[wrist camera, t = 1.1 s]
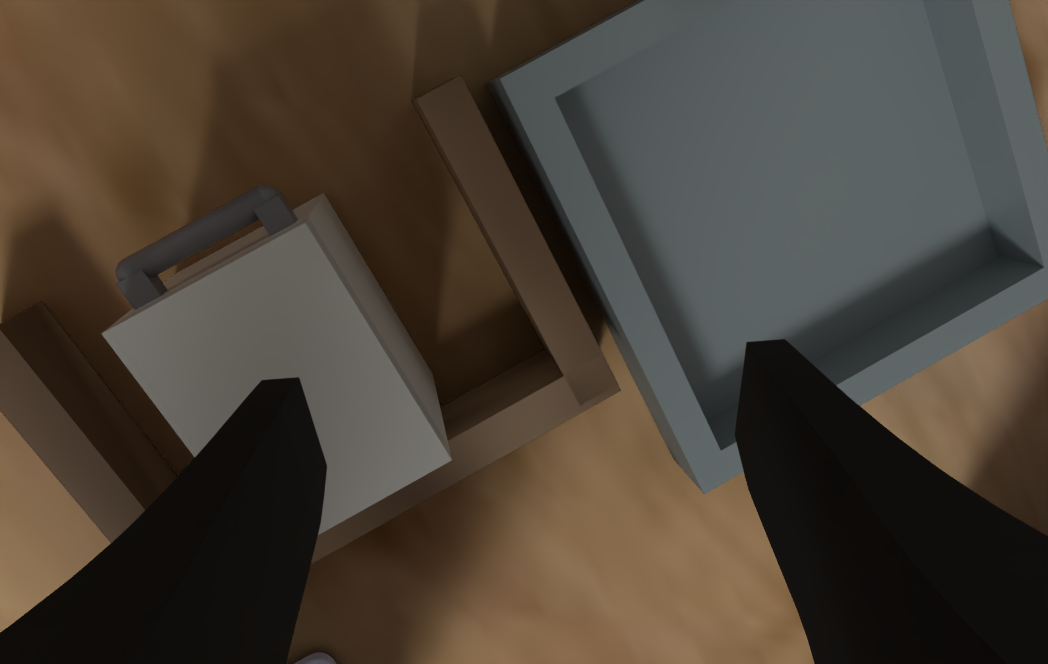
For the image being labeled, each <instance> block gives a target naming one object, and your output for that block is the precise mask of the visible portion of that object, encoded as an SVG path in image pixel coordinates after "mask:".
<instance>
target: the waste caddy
mask: <svg viewBox="0 0 1048 664" xmlns="http://www.w3.org/2000/svg"><path fill="white" fill-rule="evenodd" d="M257 220H260V221H261V223H262V224H263V226H262V227H260V228H258V229H256V230H254V231H253V232H251V233H249V234H247V235H245V236H243V237H242V238H240V239H238V240H236V241H234V242H232V243H231V244H229V245H227V246H225V247H223V248H221V249H220V250H218V251H216V252H214V253H212V254H210V255H209V256H207V257H205V258H203V259H201V260H199V261H198V262H196V263H194V264H192V265H190V266H188V267H186V268H185V269H183V270H181V271H179V272H177V273H175V274H174V275H173V276H172V277H170V278H169V279H168V280H167V281H166V282H164V283H163V282H162V281H161V280H160V278H159V277H158V274H160V273H161V272H163V271H165V270H167V269H169V268H171V267H172V266H174V265H176V264H178V263H180V262H182V261H183V260H185V259H187V258H189V257H191V256H193V255H194V254H196V253H198V252H200V251H202V250H204V249H205V248H207V247H209V246H211V245H213V244H215V243H217V242H218V241H220V240H222V239H224V238H226V237H228V236H229V235H231V234H233V233H235V232H237V231H239V230H240V229H242V228H244V227H246V226H248V225H250V224H251V223H253V222H255V221H257ZM116 276H117V278H118V280H119V282H118V283H116V284H117V286H118V287H119V289H120V290H121V291H122V293H123V294H124V295H125V297H126V298H127V300H128V301H129V302H130V304H131V305H132V306H133V308H132V309H131V310H130V311H129V312H127V313H126V314H125V315H124V316H122V317H121V318H120V319H119V320H118V321H116V322H115V323H114V324H113V325H111V326H110V327H109V328H108V329H106V330H105V331H104V332H103V333H102V335H103V337H104V338H105V339H106V341H107V342H108V343H109V345H110V346H111V347H112V349H113V350H114V351H115V353H116V354H117V355H118V357H119V358H120V359H121V361H122V362H123V363H124V365H125V366H126V367H127V368H128V370H129V371H130V372H131V374H132V375H133V376H134V378H135V379H136V380H137V382H138V383H139V384H140V386H141V387H142V388H143V390H144V391H145V392H146V394H147V395H148V396H149V398H150V399H151V400H152V402H153V403H154V404H155V406H156V407H157V408H158V410H159V411H160V412H161V414H162V415H163V416H164V418H165V419H166V420H167V422H168V423H169V424H170V426H171V427H172V428H173V429H174V431H175V432H176V433H177V435H178V436H179V437H180V439H181V440H182V441H183V443H184V444H185V445H186V447H187V448H188V449H189V451H190V452H191V453H192V455H193V456H194V457H196V456H197V454H198V453H199V452H200V451H201V450H202V449H203V448H204V447H205V445H206V444H207V443H208V442H209V441H210V440H211V439H212V437H213V436H214V435H215V434H216V433H217V431H218V430H219V429H220V428H221V427H222V426H223V424H224V423H225V422H226V421H227V420H228V419H229V417H230V416H231V415H232V414H233V413H234V411H235V410H236V409H237V408H238V407H239V406H240V404H241V403H242V402H243V401H244V400H245V399H246V397H247V396H248V395H249V394H250V393H251V392H252V391H253V389H254V388H255V387H256V386H257V385H258V384H259V383H260V381H261V380H268V379H281V378H294V377H299V378H300V381H301V385H302V388H303V391H304V394H305V397H306V400H307V404H308V407H309V410H310V413H311V416H312V419H313V423H314V426H315V429H316V432H317V435H318V438H319V442H320V445H321V448H322V451H323V454H324V457H325V461H326V464H327V473H326V483H325V493H324V502H323V510H322V518H321V524H320V528H319V533H318V535H319V534H321V533H323V532H325V531H326V530H328V529H330V528H332V527H334V526H335V525H337V524H339V523H341V522H343V521H344V520H346V519H348V518H350V517H351V516H353V515H355V514H357V513H359V512H360V511H362V510H364V509H366V508H368V507H369V506H371V505H373V504H375V503H376V502H378V501H380V500H382V499H384V498H385V497H387V496H389V495H391V494H393V493H394V492H396V491H398V490H400V489H401V488H403V487H405V486H407V485H409V484H410V483H412V482H414V481H416V480H418V479H419V478H421V477H423V476H425V475H426V474H428V473H430V472H432V471H434V470H435V469H437V468H439V467H441V466H443V465H444V464H446V463H448V462H450V461H451V460H452V458H451V454H450V449H449V445H448V440H447V436H446V431H445V427H444V422H443V418H442V413H441V409H440V405H439V400H438V396H437V391H436V387H435V382H434V378H433V374H432V372H431V371H430V369H429V367H428V366H427V364H426V362H425V361H424V359H423V357H422V356H421V354H420V352H419V351H418V349H417V347H416V346H415V344H414V342H413V341H412V339H411V337H410V336H409V334H408V332H407V331H406V329H405V327H404V326H403V324H402V322H401V321H400V319H399V317H398V316H397V314H396V312H395V311H394V309H393V307H392V306H391V304H390V302H389V301H388V299H387V297H386V296H385V294H384V292H383V291H382V289H381V287H380V286H379V284H378V282H377V281H376V279H375V277H374V276H373V274H372V272H371V271H370V269H369V267H368V266H367V264H366V262H365V261H364V259H363V257H362V256H361V254H360V252H359V251H358V249H357V247H356V246H355V244H354V242H353V241H352V239H351V237H350V236H349V234H348V232H347V231H346V229H345V227H344V226H343V224H342V222H341V221H340V219H339V217H338V216H337V214H336V212H335V211H334V209H333V207H332V206H331V204H330V202H329V201H328V199H327V197H326V196H325V194H324V193H322V194H321V195H319V196H317V197H315V198H313V199H311V200H310V201H308V202H306V203H304V204H302V205H300V206H299V207H297V208H295V209H293V210H292V209H291V207H290V205H289V204H288V202H287V201H286V199H285V197H284V196H283V194H282V193H279V191H278V190H277V189H276V188H275V187H273V186H271V185H267V184H263V185H260V186H257V187H256V188H254V189H252V190H250V191H248V192H246V193H244V194H243V195H241V196H239V197H237V198H235V199H233V200H232V201H230V202H228V203H226V204H224V205H222V206H221V207H219V208H217V209H215V210H213V211H211V212H209V213H208V214H206V215H204V216H202V217H200V218H198V219H197V220H195V221H193V222H191V223H189V224H187V225H185V226H184V227H182V228H180V229H178V230H176V231H174V232H173V233H171V234H169V235H167V236H165V237H163V238H162V239H160V240H158V241H156V242H154V243H152V244H150V245H149V246H147V247H145V248H143V249H141V250H139V251H138V252H136V253H134V254H132V255H130V256H128V257H126V258H125V259H123V260H121V261H120V262H119V263H118V265H117V267H116Z"/></svg>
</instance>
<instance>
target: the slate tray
mask: <svg viewBox="0 0 1048 664" xmlns="http://www.w3.org/2000/svg"><path fill="white" fill-rule="evenodd" d="M486 84H487V86H488V88H489V90H490V92H491V94H492V96H493V98H494V100H495V102H496V104H497V106H498V108H499V110H500V112H501V114H502V116H503V118H504V120H505V122H506V124H507V126H508V128H509V130H510V132H511V134H512V136H513V138H514V140H515V142H516V144H517V146H518V148H519V150H520V152H521V154H522V156H523V158H524V160H525V162H526V164H527V166H528V168H529V170H530V172H531V174H532V176H533V178H534V180H535V182H536V184H537V186H538V188H539V190H540V192H541V194H542V196H543V198H544V200H545V202H546V204H547V206H548V208H549V210H550V212H551V214H552V216H553V218H554V220H555V222H556V224H557V226H558V228H559V230H560V232H561V234H562V236H563V238H564V240H565V242H566V244H567V246H568V248H569V250H570V252H571V254H572V256H573V258H574V260H575V262H576V264H577V266H578V268H579V270H580V272H581V274H582V276H583V278H584V280H585V282H586V284H587V286H588V288H589V290H590V292H591V294H592V296H593V298H594V300H595V302H596V304H597V306H598V308H599V310H600V312H601V314H602V316H603V318H604V320H605V322H606V324H607V326H608V328H609V330H610V332H611V334H612V336H613V338H614V340H615V342H616V344H617V346H618V348H619V350H620V352H621V354H622V356H623V358H624V360H625V362H626V364H627V366H628V368H629V370H630V372H631V374H632V376H633V378H634V380H635V382H636V384H637V386H638V388H639V390H640V392H641V394H642V396H643V398H644V400H645V402H646V404H647V406H648V408H649V410H650V412H651V414H652V416H653V418H654V421H655V423H656V425H657V427H658V429H659V431H660V433H661V435H662V437H663V439H664V441H665V443H666V445H667V447H668V449H669V451H670V453H671V455H672V457H673V459H674V460H675V461H676V462H677V464H678V465H679V466H680V467H681V468H682V469H683V471H684V472H685V473H686V474H687V475H688V476H689V477H690V479H691V480H692V481H693V482H694V483H695V484H696V486H697V487H698V488H699V489H700V490H701V491H702V493H703V494H705V493H707V492H709V491H710V490H712V489H714V488H716V487H718V486H719V485H721V484H723V483H725V482H726V481H728V480H730V479H732V478H733V477H735V476H737V475H739V474H740V473H742V472H744V470H743V467H742V463H741V459H740V455H739V451H738V447H737V443H736V439H735V427H736V419H737V412H738V404H739V396H740V389H741V381H742V373H743V365H744V358H745V350H746V342H753V341H766V340H778V339H785V340H786V341H788V342H789V343H790V344H791V345H792V346H793V347H794V348H795V349H797V350H798V351H799V352H800V353H801V354H802V355H803V356H804V357H805V358H806V359H807V360H809V361H810V362H811V363H812V364H813V365H814V366H815V367H816V368H817V369H818V370H820V371H821V372H822V373H823V374H824V375H825V376H826V377H827V378H828V379H829V380H831V381H832V382H833V383H834V384H835V385H836V386H837V387H838V388H840V389H841V390H842V391H843V392H844V393H845V394H846V395H847V396H849V397H850V398H851V399H852V400H853V401H854V402H855V403H857V404H858V405H859V406H860V405H862V404H863V403H865V402H867V401H869V400H870V399H872V398H874V397H876V396H878V395H879V394H881V393H883V392H885V391H886V390H888V389H890V388H892V387H893V386H895V385H897V384H899V383H900V382H902V381H904V380H906V379H907V378H909V377H911V376H913V375H914V374H916V373H918V372H920V371H921V370H923V369H925V368H927V367H929V366H930V365H932V364H934V363H936V362H937V361H939V360H941V359H943V358H944V357H946V356H948V355H950V354H951V353H953V352H955V351H957V350H958V349H960V348H962V347H964V346H965V345H967V344H969V343H971V342H972V341H974V340H976V339H978V338H980V337H981V336H983V335H985V334H987V333H988V332H990V331H992V330H994V329H995V328H997V327H999V326H1001V325H1002V324H1004V323H1006V322H1008V321H1009V320H1011V319H1013V318H1015V317H1016V316H1018V315H1020V314H1022V313H1023V312H1025V311H1027V310H1029V309H1031V308H1032V307H1034V306H1036V305H1038V304H1039V303H1041V302H1043V301H1045V300H1046V299H1048V151H1047V147H1046V143H1045V139H1044V135H1043V131H1042V127H1041V123H1040V120H1039V116H1038V112H1037V108H1036V104H1035V100H1034V96H1033V92H1032V88H1031V84H1030V81H1029V77H1028V73H1027V69H1026V65H1025V61H1024V57H1023V53H1022V49H1021V45H1020V42H1019V38H1018V34H1017V30H1016V26H1015V22H1014V18H1013V14H1012V10H1011V6H1010V3H1009V0H637V1H635V2H633V3H632V4H630V5H628V6H626V7H624V8H622V9H621V10H619V11H617V12H615V13H613V14H611V15H610V16H608V17H606V18H604V19H602V20H600V21H599V22H597V23H595V24H593V25H591V26H589V27H587V28H586V29H584V30H582V31H580V32H578V33H576V34H575V35H573V36H571V37H569V38H567V39H565V40H564V41H562V42H560V43H558V44H556V45H554V46H553V47H551V48H549V49H547V50H545V51H543V52H541V53H540V54H538V55H536V56H534V57H532V58H530V59H529V60H527V61H525V62H523V63H521V64H519V65H518V66H516V67H514V68H512V69H510V70H508V71H506V72H505V73H503V74H501V75H499V76H497V77H495V78H494V79H492V80H490V81H488V82H486Z"/></svg>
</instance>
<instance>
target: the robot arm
mask: <svg viewBox="0 0 1048 664" xmlns="http://www.w3.org/2000/svg"><path fill="white" fill-rule="evenodd" d="M735 439H736V443H737V447H738V451H739V455H740V459H741V463H742V467H743V470H744V474H745V478H746V481H747V485H748V489H749V492H750V494H751V497H752V499H753V502H754V505H755V507H756V510H757V512H758V515H759V517H760V520H761V522H762V525H763V527H764V530H765V532H766V535H767V537H768V539H769V542H770V544H771V547H772V549H773V552H774V554H775V557H776V559H777V562H778V564H779V566H780V569H781V571H782V574H783V576H784V579H785V581H786V584H787V586H788V589H789V591H790V593H791V596H792V598H793V601H794V603H795V606H796V608H797V611H798V613H799V616H800V619H801V622H802V625H803V627H804V630H805V633H806V636H807V639H808V642H809V646H810V649H811V652H812V656H813V659H814V663H815V664H1048V536H1046V535H1045V534H1043V533H1041V532H1039V531H1037V530H1036V529H1034V528H1032V527H1030V526H1029V525H1027V524H1025V523H1023V522H1021V521H1020V520H1018V519H1016V518H1015V517H1013V516H1011V515H1010V514H1008V513H1006V512H1005V511H1003V510H1001V509H1000V508H998V507H997V506H995V505H993V504H992V503H990V502H989V501H987V500H986V499H984V498H983V497H981V496H980V495H978V494H977V493H975V492H973V491H972V490H970V489H969V488H967V487H966V486H964V485H963V484H961V483H960V482H958V481H957V480H955V479H954V478H952V477H951V476H949V475H948V474H946V473H945V472H944V471H942V470H941V469H939V468H938V467H936V466H935V465H934V464H932V463H931V462H930V461H928V460H927V459H926V458H924V457H923V456H922V455H920V454H919V453H918V452H916V451H915V450H914V449H912V448H911V447H910V446H908V445H907V444H906V443H904V442H903V441H902V440H900V439H899V438H898V437H897V436H895V435H894V434H893V433H892V432H890V431H889V430H888V429H887V428H885V427H884V426H883V425H882V424H880V423H879V422H878V421H877V420H876V419H874V418H873V417H872V416H871V415H870V414H868V413H867V412H866V411H865V410H864V409H862V408H861V407H860V406H859V405H858V404H857V403H855V402H854V401H853V400H852V399H851V398H850V397H849V396H847V395H846V394H845V393H844V392H843V391H842V390H841V389H840V388H838V387H837V386H836V385H835V384H834V383H833V382H832V381H831V380H829V379H828V378H827V377H826V376H825V375H824V374H823V373H822V372H821V371H820V370H818V369H817V368H816V367H815V366H814V365H813V364H812V363H811V362H810V361H809V360H807V359H806V358H805V357H804V356H803V355H802V354H801V353H800V352H799V351H798V350H797V349H795V348H794V347H793V346H792V345H791V344H790V343H789V342H788V341H786V340H785V339H778V340H766V341H753V342H746V350H745V358H744V365H743V373H742V381H741V389H740V396H739V404H738V412H737V419H736V427H735ZM326 473H327V464H326V461H325V457H324V454H323V451H322V448H321V445H320V442H319V438H318V435H317V432H316V429H315V426H314V423H313V419H312V416H311V413H310V410H309V407H308V404H307V400H306V397H305V394H304V391H303V388H302V385H301V381H300V378H299V377H294V378H281V379H268V380H261V381H260V383H259V384H258V385H257V386H256V387H255V388H254V389H253V391H252V392H251V393H250V394H249V395H248V396H247V397H246V399H245V400H244V401H243V402H242V403H241V404H240V406H239V407H238V408H237V409H236V410H235V411H234V413H233V414H232V415H231V416H230V417H229V419H228V420H227V421H226V422H225V423H224V424H223V426H222V427H221V428H220V429H219V430H218V431H217V433H216V434H215V435H214V436H213V437H212V439H211V440H210V441H209V442H208V443H207V444H206V445H205V447H204V448H203V449H202V450H201V451H200V452H199V453H198V454H197V456H196V457H195V458H194V459H193V460H192V461H191V462H190V463H189V465H188V466H187V467H186V468H185V469H184V470H183V471H182V473H181V474H180V475H179V476H178V477H177V478H176V479H175V480H174V481H173V482H172V483H171V484H170V485H169V486H168V487H167V488H166V489H165V490H164V491H163V492H162V494H161V495H160V496H159V497H158V498H157V499H156V500H155V501H154V502H153V503H152V504H151V505H150V506H149V507H148V508H147V509H146V510H145V511H144V512H143V513H142V514H141V515H140V516H139V517H138V518H137V519H136V520H135V521H134V522H133V523H132V524H131V525H130V526H129V527H128V528H127V529H126V530H125V531H124V532H123V533H122V534H121V535H119V536H118V537H117V538H116V539H115V540H114V541H113V542H112V543H111V544H110V545H109V546H107V547H106V548H105V549H104V550H103V551H102V552H101V553H100V554H98V555H97V556H96V557H95V558H94V559H93V560H92V561H90V562H89V563H88V564H87V565H86V566H85V567H84V568H82V569H81V570H80V571H79V572H78V573H77V574H75V575H74V576H73V577H72V578H71V579H69V580H68V581H67V582H66V583H64V584H63V585H62V586H60V587H59V588H58V589H57V590H55V591H54V592H53V593H51V594H50V595H49V596H48V597H46V598H45V599H44V600H42V601H41V602H40V603H39V604H37V605H36V606H35V607H33V608H32V609H31V610H30V611H28V612H27V613H26V614H24V615H23V616H22V617H21V618H19V619H18V620H17V621H15V622H14V623H13V624H12V625H10V626H9V627H8V628H6V629H5V630H3V631H2V632H1V633H0V664H286V663H287V658H288V653H289V648H290V644H291V640H292V636H293V633H294V629H295V625H296V621H297V617H298V613H299V609H300V605H301V601H302V597H303V593H304V589H305V585H306V581H307V577H308V573H309V569H310V565H311V561H312V557H313V553H314V549H315V545H316V541H317V537H318V533H319V528H320V524H321V518H322V510H323V502H324V493H325V483H326ZM295 664H336V662H335V661H334V660H333V658H332V657H330V656H329V655H328V654H325V653H314V654H311V655H309V656H307V657H305V658H303V659H302V660H300V661H298V662H296V663H295Z"/></svg>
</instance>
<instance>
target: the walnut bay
mask: <svg viewBox="0 0 1048 664" xmlns="http://www.w3.org/2000/svg"><path fill="white" fill-rule="evenodd" d="M412 103H413V105H414V107H415V108H416V110H417V112H418V114H419V116H420V118H421V120H422V122H423V123H424V125H425V127H426V129H427V131H428V133H429V135H430V136H431V138H432V140H433V142H434V144H435V146H436V148H437V149H438V151H439V153H440V155H441V157H442V159H443V161H444V163H445V164H446V166H447V168H448V170H449V172H450V174H451V176H452V177H453V179H454V181H455V183H456V185H457V187H458V189H459V191H460V192H461V194H462V196H463V198H464V200H465V202H466V204H467V205H468V207H469V209H470V211H471V213H472V215H473V217H474V219H475V220H476V222H477V224H478V226H479V228H480V230H481V232H482V233H483V235H484V237H485V239H486V241H487V243H488V245H489V246H490V248H491V250H492V252H493V254H494V256H495V258H496V260H497V261H498V263H499V265H500V267H501V269H502V271H503V273H504V274H505V276H506V278H507V280H508V282H509V284H510V286H511V288H512V289H513V291H514V293H515V295H516V297H517V299H518V301H519V302H520V304H521V306H522V308H523V310H524V312H525V314H526V315H527V317H528V319H529V321H530V323H531V325H532V327H533V329H534V330H535V332H536V334H537V336H538V338H539V340H540V342H541V343H542V345H543V347H544V350H542V351H540V352H539V353H537V354H535V355H533V356H531V357H530V358H528V359H526V360H524V361H522V362H521V363H519V364H517V365H515V366H513V367H512V368H510V369H508V370H506V371H505V372H503V373H501V374H499V375H497V376H496V377H494V378H492V379H490V380H488V381H487V382H485V383H483V384H481V385H479V386H478V387H476V388H474V389H472V390H470V391H469V392H467V393H465V394H463V395H461V396H460V397H458V398H456V399H454V400H452V401H451V402H449V403H447V404H445V405H444V406H442V407H440V409H441V413H442V418H443V422H444V427H445V431H446V436H447V440H448V445H449V449H450V454H451V458H452V460H451V461H450V462H448V463H446V464H444V465H443V466H441V467H439V468H437V469H435V470H434V471H432V472H430V473H428V474H426V475H425V476H423V477H421V478H419V479H418V480H416V481H414V482H412V483H410V484H409V485H407V486H405V487H403V488H401V489H400V490H398V491H396V492H394V493H393V494H391V495H389V496H387V497H385V498H384V499H382V500H380V501H378V502H376V503H375V504H373V505H371V506H369V507H368V508H366V509H364V510H362V511H360V512H359V513H357V514H355V515H353V516H351V517H350V518H348V519H346V520H344V521H343V522H341V523H339V524H337V525H335V526H334V527H332V528H330V529H328V530H326V531H325V532H323V533H321V534H319V535H318V537H317V541H316V545H315V549H314V553H313V557H312V561H311V564H313V563H315V562H316V561H318V560H320V559H322V558H323V557H325V556H327V555H329V554H331V553H332V552H334V551H336V550H338V549H340V548H341V547H343V546H345V545H347V544H348V543H350V542H352V541H354V540H356V539H357V538H359V537H361V536H363V535H364V534H366V533H368V532H370V531H372V530H373V529H375V528H377V527H379V526H380V525H382V524H384V523H386V522H388V521H389V520H391V519H393V518H395V517H396V516H398V515H400V514H402V513H404V512H405V511H407V510H409V509H411V508H413V507H414V506H416V505H418V504H420V503H421V502H423V501H425V500H427V499H429V498H430V497H432V496H434V495H436V494H437V493H439V492H441V491H443V490H445V489H446V488H448V487H450V486H452V485H453V484H455V483H457V482H459V481H461V480H462V479H464V478H466V477H468V476H470V475H471V474H473V473H475V472H477V471H478V470H480V469H482V468H484V467H486V466H487V465H489V464H491V463H493V462H494V461H496V460H498V459H500V458H502V457H503V456H505V455H507V454H509V453H510V452H512V451H514V450H516V449H518V448H519V447H521V446H523V445H525V444H527V443H528V442H530V441H532V440H534V439H535V438H537V437H539V436H541V435H543V434H544V433H546V432H548V431H550V430H551V429H553V428H555V427H557V426H559V425H560V424H562V423H564V422H566V421H567V420H569V419H571V418H573V417H575V416H576V415H578V414H580V413H582V412H583V411H585V410H587V409H589V408H591V407H592V406H594V405H596V404H598V403H600V402H601V401H603V400H605V399H607V398H608V397H610V396H612V395H614V394H616V393H617V392H619V391H621V389H620V387H619V385H618V383H617V381H616V379H615V377H614V375H613V373H612V371H611V369H610V367H609V365H608V363H607V361H606V359H605V357H604V356H603V354H602V352H601V350H600V348H599V346H598V344H597V342H596V340H595V338H594V336H593V334H592V332H591V330H590V328H589V326H588V324H587V322H586V320H585V318H584V316H583V314H582V312H581V310H580V308H579V306H578V304H577V302H576V300H575V298H574V296H573V294H572V293H571V291H570V289H569V287H568V285H567V283H566V281H565V279H564V277H563V275H562V273H561V271H560V269H559V267H558V265H557V263H556V261H555V259H554V257H553V255H552V253H551V251H550V249H549V247H548V245H547V243H546V241H545V239H544V237H543V235H542V233H541V231H540V230H539V228H538V226H537V224H536V222H535V220H534V218H533V216H532V214H531V212H530V210H529V208H528V206H527V204H526V202H525V200H524V198H523V196H522V194H521V192H520V190H519V188H518V186H517V184H516V182H515V180H514V178H513V176H512V174H511V172H510V170H509V168H508V167H507V165H506V163H505V161H504V159H503V157H502V155H501V153H500V151H499V149H498V147H497V145H496V143H495V141H494V139H493V137H492V135H491V133H490V131H489V129H488V127H487V125H486V123H485V121H484V119H483V117H482V115H481V113H480V111H479V109H478V107H477V105H476V104H475V102H474V100H473V98H472V96H471V94H470V92H469V90H468V88H467V86H466V84H465V82H464V80H463V78H462V76H461V75H460V76H458V77H455V78H453V79H451V80H449V81H447V82H445V83H443V84H441V85H440V86H438V87H436V88H434V89H432V90H430V91H429V92H427V93H425V94H423V95H421V96H419V97H417V98H416V99H414V100H412ZM0 411H1V412H2V413H3V415H4V416H5V417H6V418H7V419H8V421H9V422H10V423H11V424H12V425H13V427H14V428H15V429H16V430H17V431H18V432H19V434H20V435H21V436H22V437H23V438H24V440H25V441H26V442H27V443H28V444H29V446H30V447H31V448H32V449H33V450H34V452H35V453H36V454H37V455H38V456H39V458H40V459H41V460H42V461H43V462H44V464H45V465H46V466H47V467H48V468H49V470H50V471H51V472H52V473H53V474H54V475H55V477H56V478H57V479H58V480H59V481H60V483H61V484H62V485H63V486H64V487H65V489H66V490H67V491H68V492H69V493H70V495H71V496H72V497H73V498H74V499H75V501H76V502H77V503H78V504H79V505H80V507H81V508H82V509H83V510H84V511H85V513H86V514H87V515H88V516H89V517H90V518H91V520H92V521H93V522H94V523H95V524H96V526H97V527H98V528H99V529H100V530H101V532H102V533H103V534H104V535H105V536H106V538H107V539H108V540H109V541H110V542H111V543H112V542H113V541H114V540H115V539H116V538H117V537H118V536H119V535H121V534H122V533H123V532H124V531H125V530H126V529H127V528H128V527H129V526H130V525H131V524H132V523H133V522H134V521H135V520H136V519H137V518H138V517H139V516H140V515H141V514H142V513H143V512H144V511H145V510H146V509H147V508H148V507H149V506H150V505H151V504H152V503H153V502H154V501H155V500H156V499H157V498H158V497H159V496H160V495H161V494H162V492H163V491H164V490H165V489H166V488H167V487H168V486H169V485H170V484H171V483H172V482H173V481H174V480H175V479H176V478H177V476H176V475H175V474H174V473H173V471H172V470H171V469H170V467H169V466H168V465H167V463H166V462H165V461H164V460H163V458H162V457H161V456H160V454H159V453H158V452H157V450H156V449H155V448H154V447H153V445H152V444H151V443H150V441H149V440H148V439H147V438H146V436H145V435H144V434H143V432H142V431H141V430H140V428H139V427H138V426H137V425H136V423H135V422H134V421H133V419H132V418H131V417H130V415H129V414H128V413H127V412H126V410H125V409H124V408H123V406H122V405H121V404H120V403H119V401H118V400H117V399H116V397H115V396H114V395H113V393H112V392H111V391H110V390H109V388H108V387H107V386H106V384H105V383H104V382H103V381H102V379H101V378H100V377H99V375H98V374H97V373H96V371H95V370H94V369H93V368H92V366H91V365H90V364H89V362H88V361H87V360H86V358H85V357H84V356H83V355H82V353H81V352H80V351H79V349H78V348H77V347H76V346H75V344H74V343H73V342H72V340H71V339H70V338H69V336H68V335H67V334H66V333H65V331H64V330H63V329H62V327H61V326H60V325H59V323H58V322H57V321H56V320H55V318H54V317H53V316H52V314H51V313H50V312H49V311H48V309H47V308H46V307H45V305H44V304H43V303H42V301H41V302H39V303H38V304H36V305H34V306H32V307H30V308H28V309H26V310H25V311H23V312H21V313H19V314H17V315H15V316H14V317H12V318H10V319H8V320H6V321H4V322H2V323H1V324H0Z"/></svg>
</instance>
